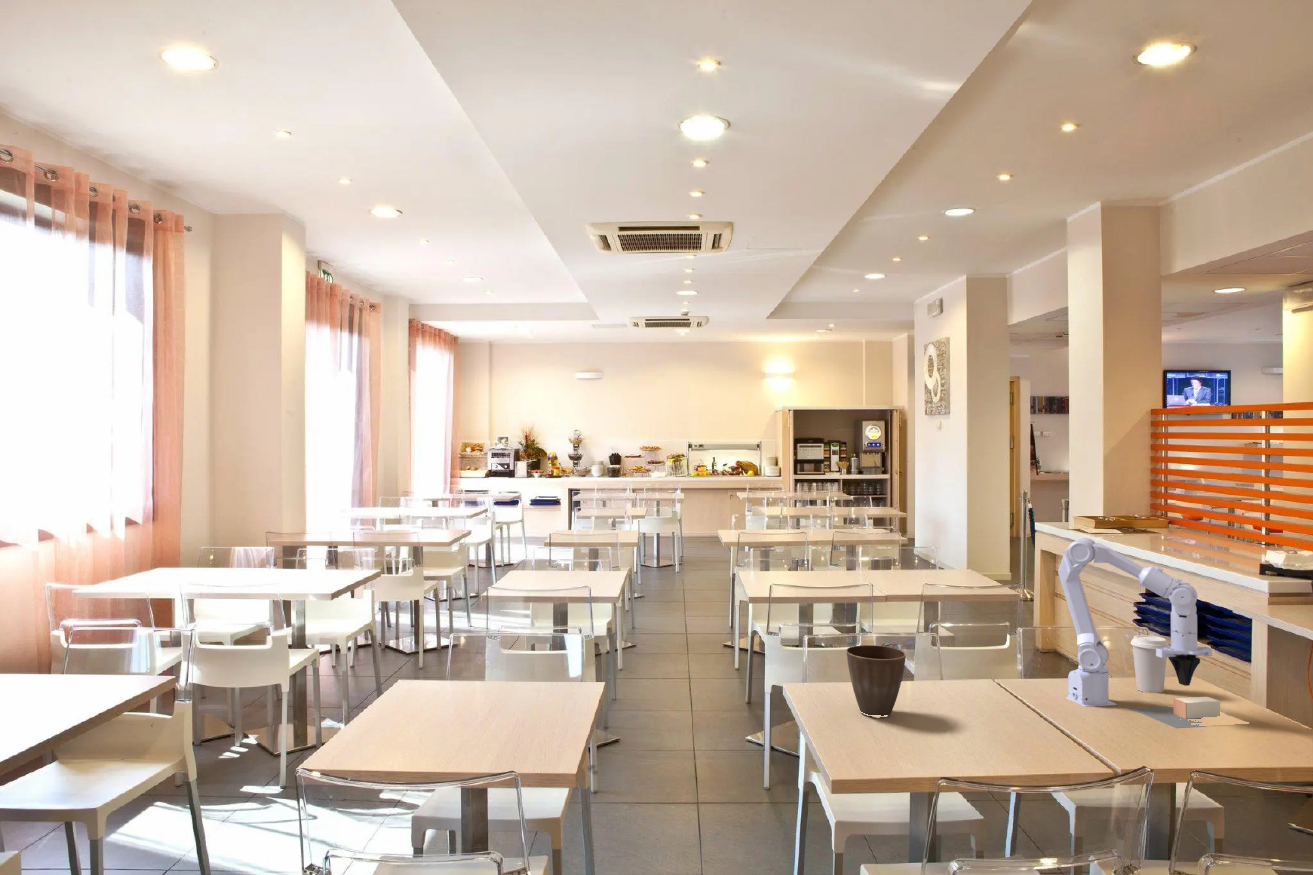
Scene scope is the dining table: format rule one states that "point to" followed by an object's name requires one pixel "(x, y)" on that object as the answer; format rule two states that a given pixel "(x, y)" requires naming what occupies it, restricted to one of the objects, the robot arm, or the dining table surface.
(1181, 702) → the block
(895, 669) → the plant pot
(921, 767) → the dining table surface
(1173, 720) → the mat
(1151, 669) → the coffee cup
